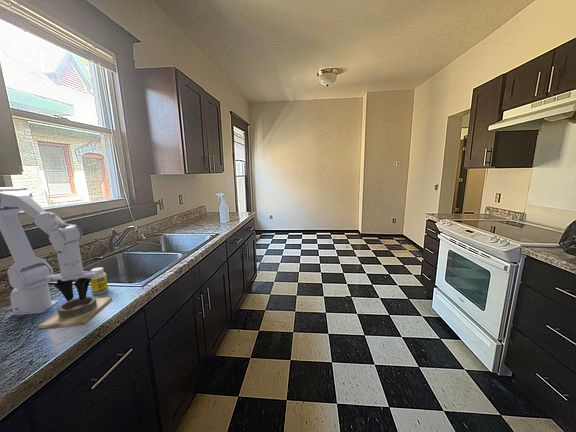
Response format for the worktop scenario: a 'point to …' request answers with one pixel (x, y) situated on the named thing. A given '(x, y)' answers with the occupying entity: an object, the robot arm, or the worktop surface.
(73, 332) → the worktop surface
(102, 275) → the supplement bottle
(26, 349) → the worktop surface
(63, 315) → the socket plate
